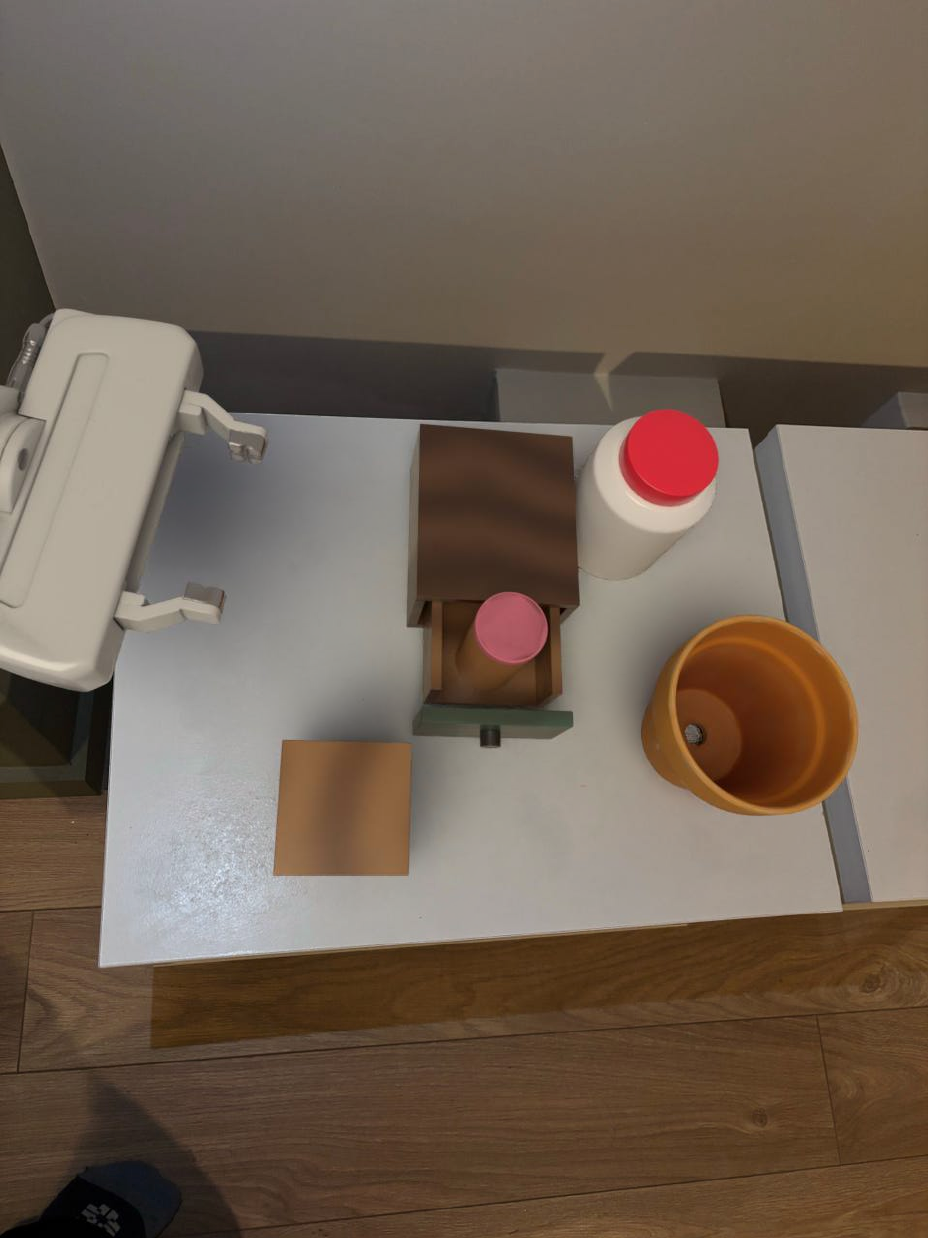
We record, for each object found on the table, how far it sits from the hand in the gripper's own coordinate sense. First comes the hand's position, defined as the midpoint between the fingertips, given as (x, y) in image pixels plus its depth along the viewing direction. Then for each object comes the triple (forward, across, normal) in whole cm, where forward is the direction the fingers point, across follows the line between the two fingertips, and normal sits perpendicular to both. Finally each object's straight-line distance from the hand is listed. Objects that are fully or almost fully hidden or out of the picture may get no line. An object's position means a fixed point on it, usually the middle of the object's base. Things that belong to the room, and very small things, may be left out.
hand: (244, 524), depth 43 cm
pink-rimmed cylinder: (+17, -1, -22) cm, 28 cm away
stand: (+8, +13, -24) cm, 28 cm away
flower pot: (+36, +1, -24) cm, 43 cm away
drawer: (+17, -1, -23) cm, 29 cm away
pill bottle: (+27, -16, -24) cm, 40 cm away
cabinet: (+15, -12, -24) cm, 31 cm away
